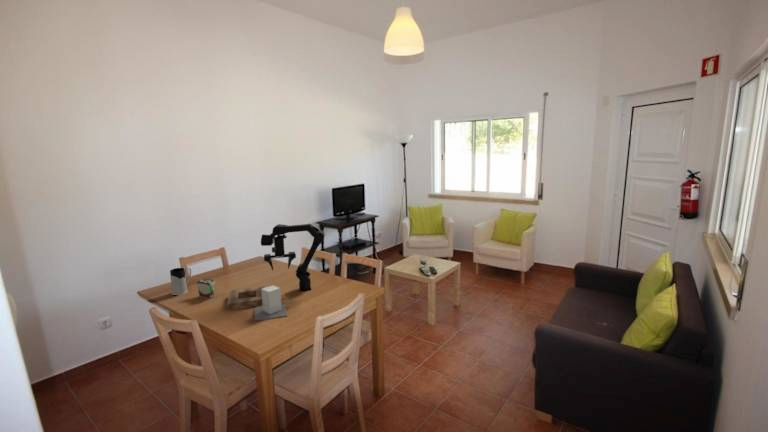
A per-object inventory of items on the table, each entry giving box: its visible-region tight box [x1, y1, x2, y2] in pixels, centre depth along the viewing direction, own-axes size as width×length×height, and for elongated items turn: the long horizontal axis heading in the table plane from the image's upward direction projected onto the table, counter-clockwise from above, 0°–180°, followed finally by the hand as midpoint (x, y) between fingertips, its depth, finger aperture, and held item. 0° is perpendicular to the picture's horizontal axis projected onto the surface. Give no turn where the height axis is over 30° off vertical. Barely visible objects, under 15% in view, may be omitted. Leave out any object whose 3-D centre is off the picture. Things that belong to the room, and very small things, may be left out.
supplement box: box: [261, 284, 282, 314], centre depth 192 cm, size 7×7×13 cm
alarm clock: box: [196, 278, 216, 300], centre depth 214 cm, size 12×6×10 cm, turn 65°
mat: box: [254, 302, 288, 322], centre depth 193 cm, size 16×16×1 cm
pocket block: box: [226, 285, 266, 311], centre depth 208 cm, size 20×20×4 cm
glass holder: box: [169, 267, 192, 296], centre depth 221 cm, size 9×14×15 cm, turn 164°
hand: (280, 269), depth 222 cm, fingers open, 9 cm apart
